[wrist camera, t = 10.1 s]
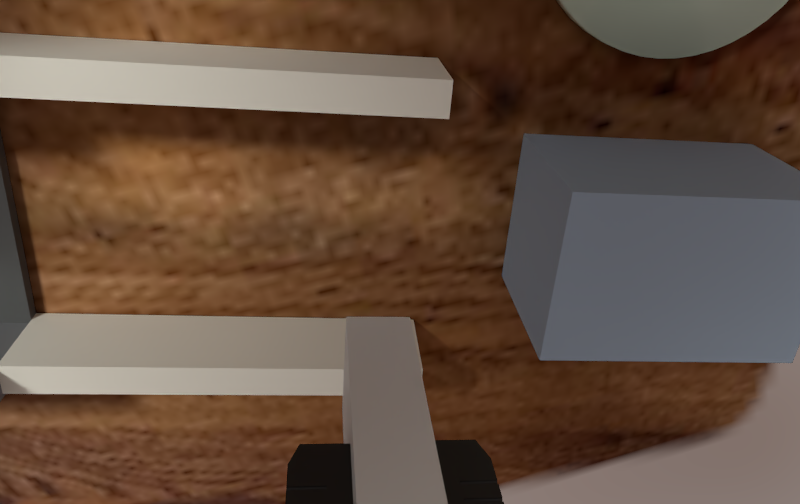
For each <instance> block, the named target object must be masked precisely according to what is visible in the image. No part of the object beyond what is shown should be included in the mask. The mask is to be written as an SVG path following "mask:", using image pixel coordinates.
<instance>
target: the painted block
mask: <svg viewBox="0 0 800 504" xmlns="http://www.w3.org/2000/svg"><path fill="white" fill-rule="evenodd" d="M502 278H503V280H504V282H505V284H506V287H507V289H508V291H509V293H510V296H511V298H512V300H513V302H514V304H515V307H516V309H517V311H518V313H519V316H520V318H521V320H522V322H523V325H524V327H525V329H526V331H527V333H528V336H529V338H530V340H531V342H532V345H533V347H534V349H535V351H536V354H537V356H538V358H539V360H554V361H650V362H746V363H792V362H793V360H794V357H795V355H796V352H797V349H798V347H799V344H800V171H799V170H797V169H796V168H794V167H792V166H790V165H788V164H787V163H785V162H783V161H781V160H780V159H778V158H776V157H774V156H772V155H771V154H769V153H767V152H765V151H764V150H762V149H760V148H758V147H756V146H755V145H753V144H741V143H719V142H697V141H675V140H654V139H632V138H610V137H588V136H567V135H545V134H524V135H523V142H522V148H521V155H520V161H519V168H518V174H517V180H516V187H515V193H514V200H513V206H512V213H511V219H510V225H509V232H508V238H507V245H506V251H505V258H504V264H503V270H502Z"/></svg>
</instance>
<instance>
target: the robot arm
mask: <svg viewBox="0 0 800 504" xmlns="http://www.w3.org/2000/svg"><path fill="white" fill-rule="evenodd" d="M342 413H343V439H344V444H300V445H299V446H298V448H297V450H296V452H295V453H294V455H293V457H292V458H291V460H290V462H289V463H288V471H287V490H286V504H504V502H502V495H501V492H500V488H499V485H498V484H497V478H496V475H495V471H494V468H493V464H492V461H491V458H490V457H489V456H488V455H487V453H486V452H485V451H484V450H483V449H482V447H481V446H480V445H479V444H478V443H477V441H476V440H436V441H435V438H434V433H433V428H432V423H431V418H430V413H429V408H428V404H427V399H426V394H425V389H424V384H423V379H422V374H421V369H420V364H419V359H418V354H417V349H416V345H415V340H414V335H413V330H412V325H411V320H410V317H346V334H345V357H344V380H343V403H342Z"/></svg>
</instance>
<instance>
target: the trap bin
mask: <svg viewBox="0 0 800 504" xmlns="http://www.w3.org/2000/svg"><path fill="white" fill-rule="evenodd" d="M35 314H36V310H35V305H34V300H33V294H32V289H31V284H30V279H29V274H28V269H27V264H26V258H25V253H24V248H23V243H22V238H21V233H20V228H19V222H18V217H17V212H16V207H15V202H14V197H13V192H12V187H11V181H10V176H9V171H8V166H7V161H6V156H5V151H4V145H3V140H2V135H1V130H0V360H1V359H2V358H3V357H4V355H5V354H6V353H7V351H8V350H9V349H10V347H11V346H12V345H13V343H14V342H15V341H16V339H17V338H18V337H19V335H20V334H21V333H22V331H23V330H24V329H25V327H26V326H27V325H28V323H29V322H30V321H31V319H32V318H33V317H34V315H35ZM4 396H5V394H3V393H2V389H1V384H0V402H1V400H2V399H3V397H4Z"/></svg>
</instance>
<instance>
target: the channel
mask: <svg viewBox="0 0 800 504" xmlns="http://www.w3.org/2000/svg"><path fill="white" fill-rule="evenodd" d="M452 89H453V79H452V77H451V76H450V74H449V73H448V72H447V70H446V69H445V67H444V66H443V64H442V63H441V61H440V60H439V59H438V58H430V57H412V56H395V55H378V54H361V53H344V52H326V51H309V50H292V49H275V48H258V47H240V46H223V45H206V44H189V43H172V42H154V41H137V40H120V39H103V38H85V37H68V36H51V35H34V34H17V33H0V97H3V98H24V99H45V100H65V101H86V102H106V103H127V104H147V105H168V106H189V107H209V108H230V109H250V110H271V111H292V112H312V113H333V114H353V115H374V116H395V117H415V118H436V119H449V117H450V108H451V98H452ZM411 325H412V330H413V335H414V340H415V345H416V349H417V354H418V359H419V364H420V369H421V374H423V368H422V363H421V357H420V352H419V347H418V341H417V336H416V330H415V325H414V320H411ZM345 334H346V318H291V317H232V316H173V315H114V314H54V313H36V314H35V315H34V317H33V318H32V319H31V321H30V322H29V323H28V325H27V326H26V327H25V329H24V330H23V331H22V333H21V334H20V335H19V337H18V338H17V339H16V341H15V342H14V343H13V345H12V346H11V347H10V349H9V350H8V351H7V353H6V354H5V355H4V357H3V358H2V359H1V360H0V384H1V389H2V393H3V394H145V395H343V380H344V357H345Z"/></svg>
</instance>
